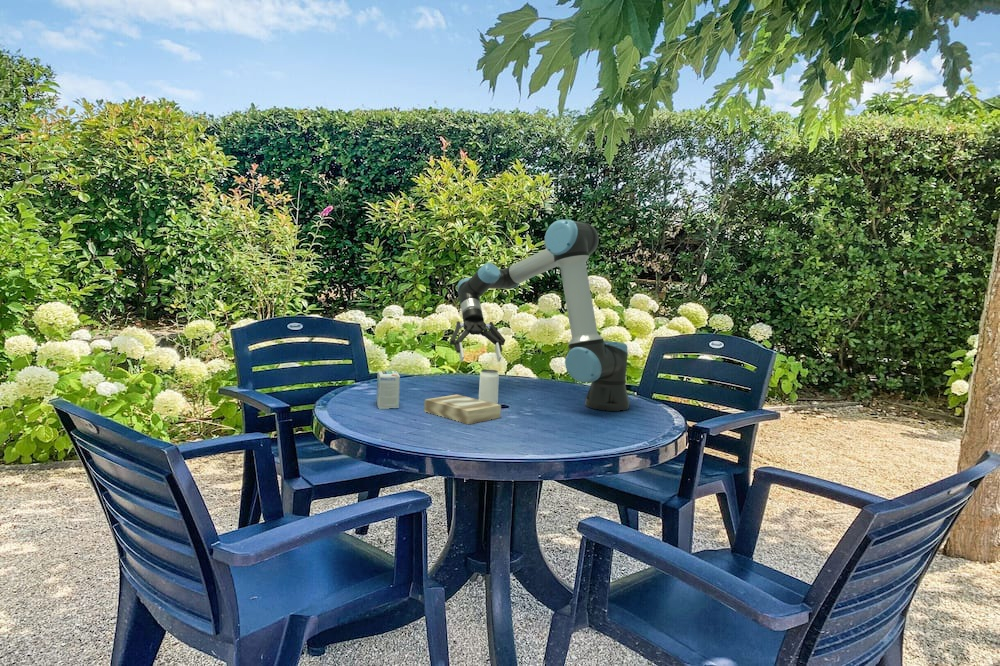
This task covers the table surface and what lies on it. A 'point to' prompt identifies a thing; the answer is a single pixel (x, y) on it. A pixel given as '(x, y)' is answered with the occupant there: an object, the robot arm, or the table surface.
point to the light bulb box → (388, 389)
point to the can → (489, 386)
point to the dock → (463, 408)
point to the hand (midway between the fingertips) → (481, 359)
